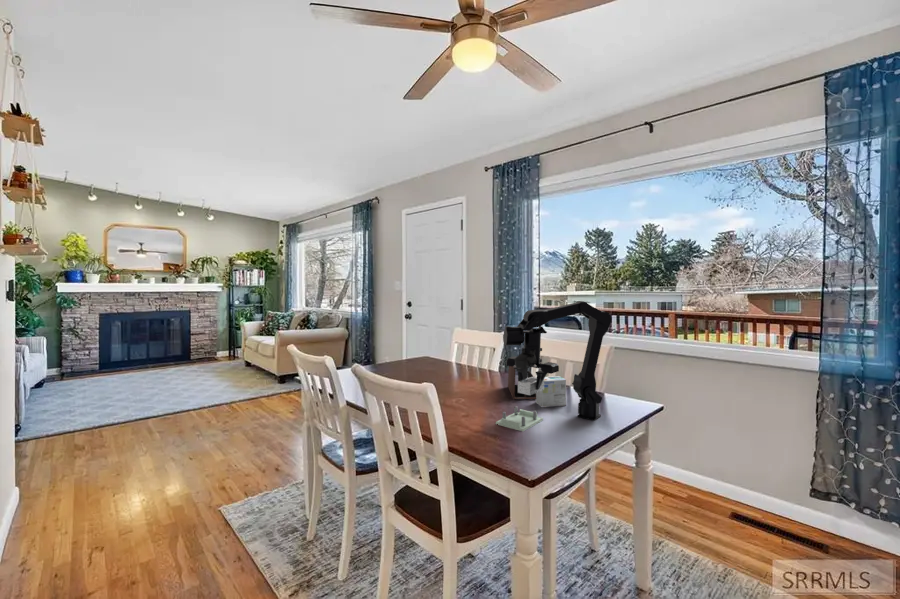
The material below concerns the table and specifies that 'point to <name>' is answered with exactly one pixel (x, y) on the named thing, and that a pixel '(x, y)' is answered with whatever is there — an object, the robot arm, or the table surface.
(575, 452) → the table surface
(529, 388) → the block
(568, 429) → the table surface
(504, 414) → the tray
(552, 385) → the light bulb box
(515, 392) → the letter holder
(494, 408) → the table surface
